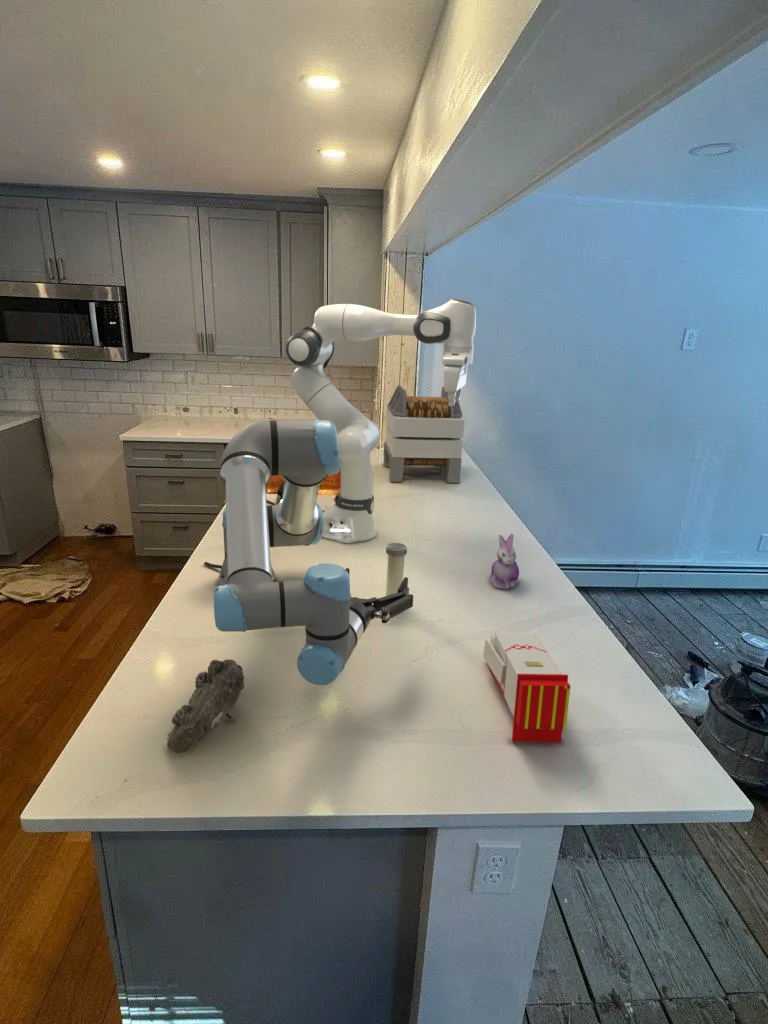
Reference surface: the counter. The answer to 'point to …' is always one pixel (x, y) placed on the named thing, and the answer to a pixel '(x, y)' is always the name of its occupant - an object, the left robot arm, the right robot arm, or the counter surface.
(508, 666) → the toy
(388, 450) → the transformer
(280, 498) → the figurine character
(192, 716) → the fossil
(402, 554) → the lid
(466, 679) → the counter surface
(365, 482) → the right robot arm
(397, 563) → the jar
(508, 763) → the counter surface
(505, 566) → the figurine
